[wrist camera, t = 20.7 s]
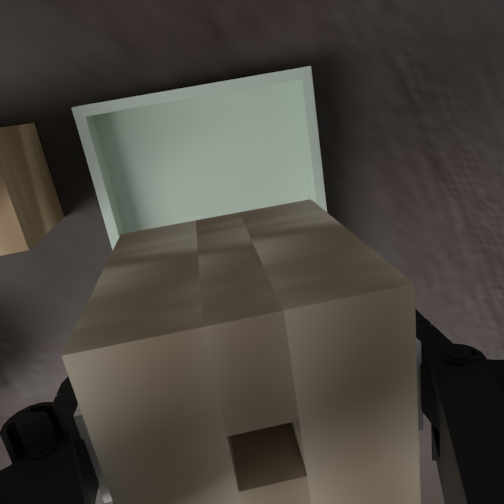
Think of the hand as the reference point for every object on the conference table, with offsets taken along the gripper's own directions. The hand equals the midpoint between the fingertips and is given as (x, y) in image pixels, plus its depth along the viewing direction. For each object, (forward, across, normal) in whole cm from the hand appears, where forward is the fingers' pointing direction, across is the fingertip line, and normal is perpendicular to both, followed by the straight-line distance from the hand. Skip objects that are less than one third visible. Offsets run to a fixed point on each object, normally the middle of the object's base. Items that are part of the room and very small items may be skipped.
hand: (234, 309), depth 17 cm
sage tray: (+19, 0, +1) cm, 19 cm away
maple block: (0, 0, 0) cm, 0 cm away
